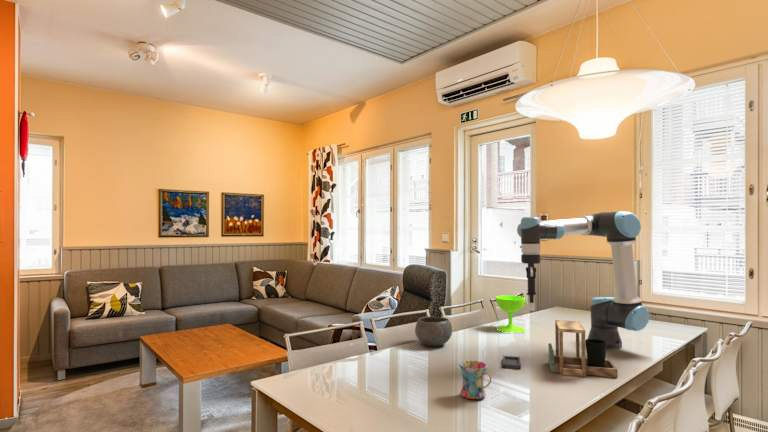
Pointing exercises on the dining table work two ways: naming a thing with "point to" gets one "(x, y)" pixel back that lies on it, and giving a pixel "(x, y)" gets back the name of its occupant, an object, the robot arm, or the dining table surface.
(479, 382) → the mug
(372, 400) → the dining table surface
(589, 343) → the cup
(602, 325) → the robot arm
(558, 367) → the sled
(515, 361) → the tray
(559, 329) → the brown wooden frame
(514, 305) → the wineglass
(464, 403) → the dining table surface
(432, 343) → the bowl
